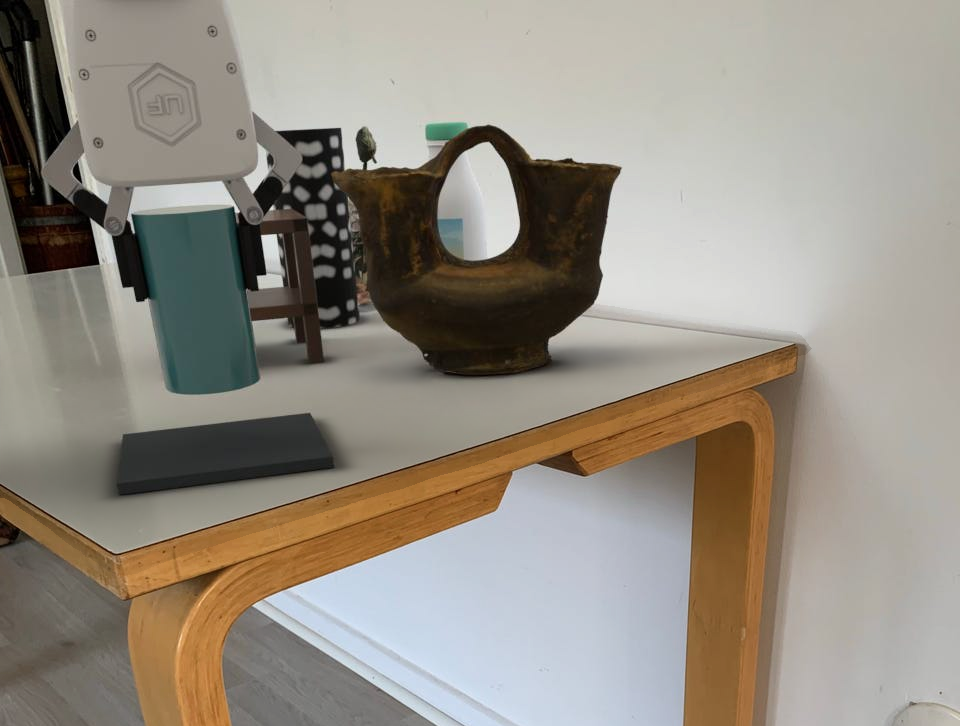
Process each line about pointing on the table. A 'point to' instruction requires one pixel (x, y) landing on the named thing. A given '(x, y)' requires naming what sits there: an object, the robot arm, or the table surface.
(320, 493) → the table surface
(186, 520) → the table surface
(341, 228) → the spotted tube
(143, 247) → the teal tin can
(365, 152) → the plant with pod
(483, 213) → the milk bottle
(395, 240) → the pottery vessel
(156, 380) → the table surface
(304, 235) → the shelf
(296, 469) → the mat
